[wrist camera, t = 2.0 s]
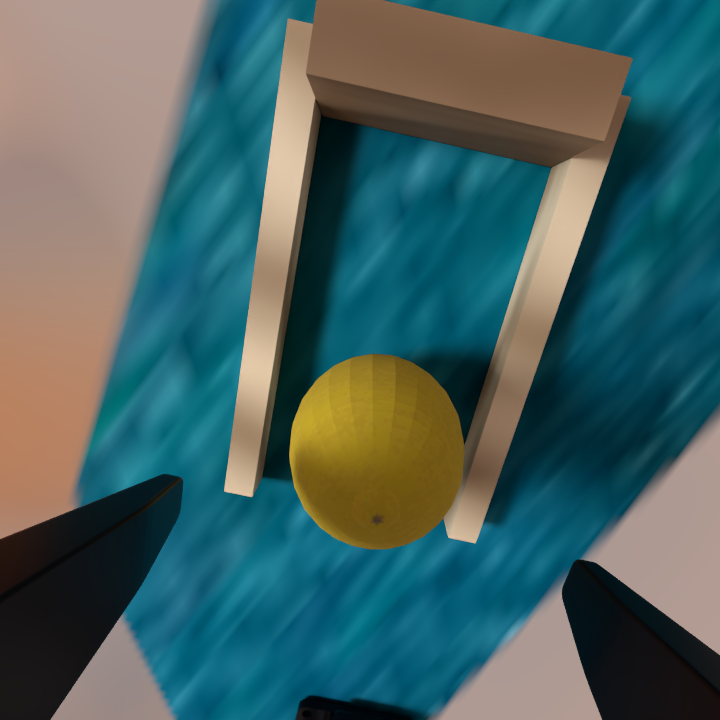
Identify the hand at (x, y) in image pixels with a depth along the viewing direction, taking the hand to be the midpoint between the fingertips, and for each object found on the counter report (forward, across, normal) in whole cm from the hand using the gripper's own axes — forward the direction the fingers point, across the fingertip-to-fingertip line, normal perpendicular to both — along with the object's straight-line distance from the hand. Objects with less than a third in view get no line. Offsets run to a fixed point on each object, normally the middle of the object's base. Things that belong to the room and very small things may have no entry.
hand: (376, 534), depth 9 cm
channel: (+8, 0, -4) cm, 9 cm away
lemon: (+9, 0, 0) cm, 9 cm away
